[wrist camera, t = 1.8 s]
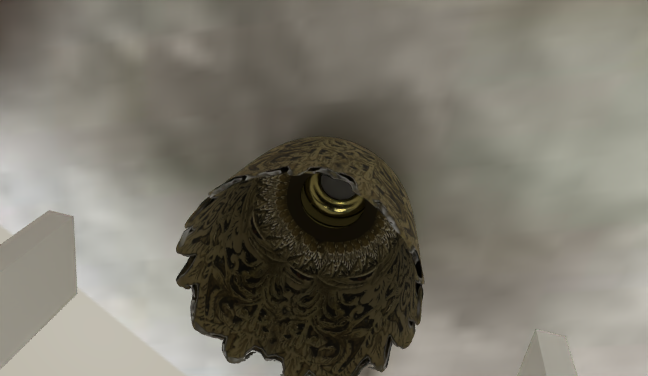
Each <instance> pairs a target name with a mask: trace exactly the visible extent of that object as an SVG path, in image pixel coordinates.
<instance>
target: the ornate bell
mask: <svg viewBox="0 0 648 376" xmlns="http://www.w3.org/2000/svg"><path fill="white" fill-rule="evenodd" d="M322 174H324V175H327V176H329V177H331V178H333V179H339V180H343V181H345V182H347V183H349V184H350V185H351V187H352V191H353V192H355V193H356V194H355V195H354V196H353V197H351V198H350V199H347V200H336V199H333V198H331V197H329V196H328V195H327V194H326V193H325V192H324V191H323V189H322V187H321V183H320V179H321V175H322ZM208 195H209V197H208V198H207V199H205V200H204V201H203V202H202V203H201V204H200V206H199V207H198V208H197V210H196V211H195V212H194V213H193V214H192V215H191V216H190V218H189V219H188V220H187V222H186V224H185V228H188V227H189V228H188V229H187V230H185V231H184V233H183V235H182V237H181V239H180V241H179V243H178V244H177V247H176V252H177V253H178V254H182V255H183V256H186V257H189V259H188V261H187V263H186V265H185V266H184V268H183V269H182V270H181V272H180V273H179V275H178V276H177V279H176V281H177V284H178V285H179V286H180V287H184V288H185V289H190V288H191V286H190V285H192V288H191V289H192V292H193V295H192V301H191V307H190V310H191V320H192V325H193V328H194V329H195V330H196V331H198V332H200V333H201V334H203V335H206V336H210V337H213V338H218V339H220V340H223V343H222V351H223V354H224V356H225V358H226V359H227V361H228V362H229V363H240V362H242V361H245V359H248V358H250V355H253V353H256V352H250V351H252V350H255V351H257V352H260V353H261V354H262V356H263V357H264V359H265V360H266V361H271V360H273V359H275V360H277V361H280V362H281V363H282V366H283V371H282V372H283V374H282V375H281V374H280V375H281V376H357V375H359V374H360V372H361V370H362V369H363V368H364V367H365V366H367V365H368V364H371V365H373V366H374V367H373V368H372V367H368V368H372V369H375V370H377V371H380V372H383V371H384V370H385V369H386V368H387V365H388V361H389V356H390V350H391V346H392V343H394V345H396V346H397V347H401V348H402V349H405V348H407V347H408V346H409V345H410V343H411V342H412V339H413V337H414V334H415V324H416V325H418V324H419V323H420V320H421V308H422V299H423V288H422V284H424V277H423V272H422V267H421V260H420V252H419V244H418V237H417V231H416V225H415V221H414V216H413V212H412V208H411V205H410V202H409V199H408V196H407V194H406V192H405V190H404V188H403V186H402V184H401V182H400V181H399V179H398V178H397V176H396V175H395V173H394V172H393V171H392V170H391V168H390V167H389V166H388V165H387V164H386V163H385V162H384V161H383V160H382V159H380V158H379V157H378V156H377V155H375V154H374V153H372V152H371V151H369V150H368V149H366V148H364V147H362V146H360V145H358V144H356V143H353V142H350V141H348V140H344V139H340V138H334V137H322V136H317V137H307V138H301V139H297V140H294V141H290V142H287V143H284V144H282V145H280V146H278V147H276V148H274V149H272V150H270V151H268V152H267V153H265V154H263V155H262V156H260V157H259V158H257V159H256V160H254V161H253V162H251V163H250V164H249V165H247V166H246V167H245V168H243V169H242V170H241V171H239V172H238V173H237V174H235V175H234V176H233V177H231V178H230V179H229V180H227V181H226V182H225V183H223V184H222V185H220V186H219V187H217V188H215V189H214V190H212V191H211V192H210V193H209V194H208ZM249 352H250V353H249ZM247 353H249V354H248V355H246V354H247ZM244 357H245V359H243V358H244ZM275 360H274V361H275ZM369 362H370V363H369Z"/></svg>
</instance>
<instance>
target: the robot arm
mask: <svg viewBox="0 0 648 376" xmlns="http://www.w3.org/2000/svg"><path fill="white" fill-rule="evenodd" d="M76 294H77V277H76V257H75V236H74V216H70V215H66V214H62V213H58V212H54V211H50V210H49V211H47V212H46V213H45V214H43V215H42V216H40V217H39V218H37V219H36V220H35V221H33V222H32V223H30V224H29V225H27V226H26V227H25V228H23V229H22V230H20V231H19V232H17V233H16V234H15V235H13V236H12V237H10V238H9V239H7V240H6V241H5V242H3V243H2V244H0V369H1V368H2V367H3V366H4V365H5V364H6V363H7V362H8V361H9V360H10V359H11V358H12V357H13V356H14V355H15V354H16V353H17V352H18V351H19V350H20V349H21V348H23V347H24V346H25V344H27V343H28V342H29V341H30V339H32V338H33V337H34V336H35V335H36V334H37V333H38V332H39V331H40V329H42V328H43V327H44V326H45V325H46V324H47V323H48V322H49V321H50V320H51V319H52V318H53V317H54V316H55V315H56V314H57V313H58V312H59V311H60V310H61V309H62V308H63V307H64V306H65V305H66V304H67V303H68V302H69V301H70V300H71V299H72V298H73V297H74V296H75V295H76ZM517 376H577V372H576V369H575V366H574V362H573V359H572V356H571V352H570V349H569V346H568V342H567V339H566V336H562V335H558V334H554V333H550V332H546V331H542V330H538V329H536V330H535V333H534V335H533V338H532V340H531V342H530V345H529V347H528V350H527V352H526V355H525V357H524V360H523V362H522V365H521V367H520V370H519V372H518V374H517Z"/></svg>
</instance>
